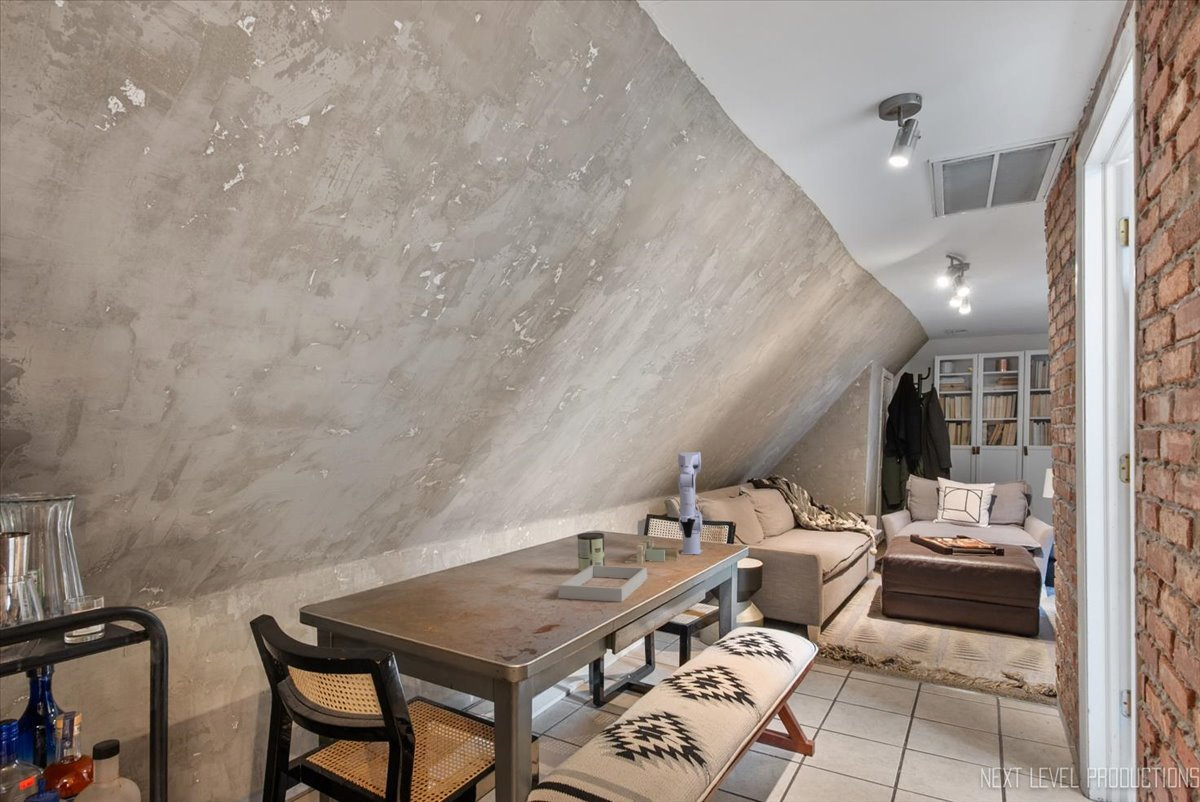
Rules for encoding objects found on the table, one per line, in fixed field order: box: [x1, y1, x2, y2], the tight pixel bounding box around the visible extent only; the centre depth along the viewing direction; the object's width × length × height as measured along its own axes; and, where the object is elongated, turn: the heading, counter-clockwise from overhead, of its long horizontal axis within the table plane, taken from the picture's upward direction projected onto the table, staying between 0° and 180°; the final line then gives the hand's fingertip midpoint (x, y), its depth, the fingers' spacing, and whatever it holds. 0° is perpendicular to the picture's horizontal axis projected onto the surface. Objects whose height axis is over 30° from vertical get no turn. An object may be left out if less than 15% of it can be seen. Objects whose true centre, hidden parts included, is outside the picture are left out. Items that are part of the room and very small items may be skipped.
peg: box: [652, 546, 679, 562], centre depth 259 cm, size 4×10×5 cm, turn 72°
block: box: [646, 546, 666, 562], centre depth 260 cm, size 9×8×4 cm
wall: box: [624, 537, 654, 564], centre depth 262 cm, size 20×7×7 cm, turn 162°
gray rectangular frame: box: [558, 565, 648, 603], centre depth 213 cm, size 32×21×4 cm, turn 162°
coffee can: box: [576, 532, 606, 573], centre depth 240 cm, size 10×10×14 cm
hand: (688, 537), depth 256 cm, fingers closed
